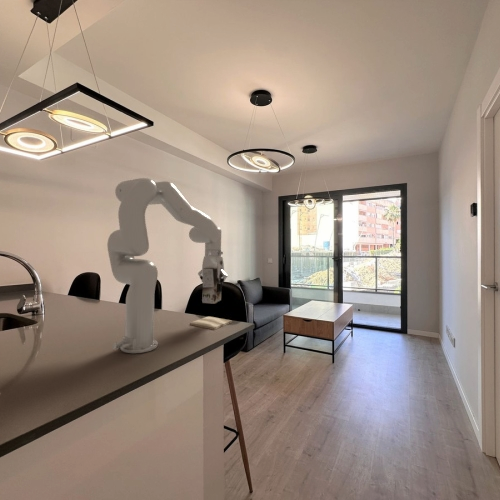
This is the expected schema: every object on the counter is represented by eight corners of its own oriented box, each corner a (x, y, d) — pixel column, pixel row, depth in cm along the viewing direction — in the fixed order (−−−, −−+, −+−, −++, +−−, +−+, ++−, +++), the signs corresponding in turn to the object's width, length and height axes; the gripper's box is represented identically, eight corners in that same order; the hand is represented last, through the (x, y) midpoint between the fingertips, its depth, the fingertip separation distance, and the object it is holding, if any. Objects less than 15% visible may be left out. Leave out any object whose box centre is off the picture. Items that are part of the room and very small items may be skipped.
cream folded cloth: (214, 329, 127) (214, 327, 127) (189, 324, 134) (189, 322, 134) (231, 322, 139) (231, 320, 139) (208, 318, 146) (208, 316, 146)
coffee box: (214, 303, 131) (215, 268, 131) (201, 302, 133) (202, 267, 132) (221, 300, 140) (222, 267, 139) (209, 299, 141) (209, 266, 141)
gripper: (232, 254, 135) (232, 291, 135) (203, 252, 143) (202, 288, 144) (223, 254, 128) (222, 294, 129) (193, 253, 137) (192, 290, 137)
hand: (212, 290), depth 136 cm, fingers closed on coffee box, 7 cm apart
